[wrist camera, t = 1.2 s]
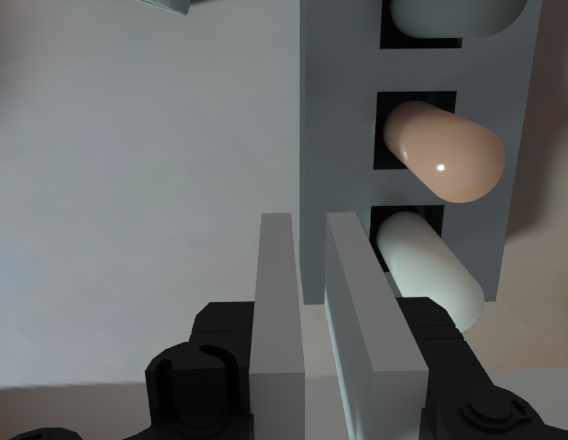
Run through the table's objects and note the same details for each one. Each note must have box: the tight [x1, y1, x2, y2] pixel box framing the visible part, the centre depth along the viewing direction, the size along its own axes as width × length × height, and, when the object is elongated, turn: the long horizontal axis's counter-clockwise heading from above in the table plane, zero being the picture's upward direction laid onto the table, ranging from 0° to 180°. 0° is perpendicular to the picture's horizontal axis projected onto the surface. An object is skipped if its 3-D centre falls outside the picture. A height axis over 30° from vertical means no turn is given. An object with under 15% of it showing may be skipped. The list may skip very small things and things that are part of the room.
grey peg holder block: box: [300, 0, 543, 305], centre depth 35 cm, size 14×25×7 cm, turn 1°
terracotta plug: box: [383, 100, 505, 203], centre depth 27 cm, size 4×4×10 cm
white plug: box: [376, 211, 484, 332], centre depth 30 cm, size 4×4×10 cm
